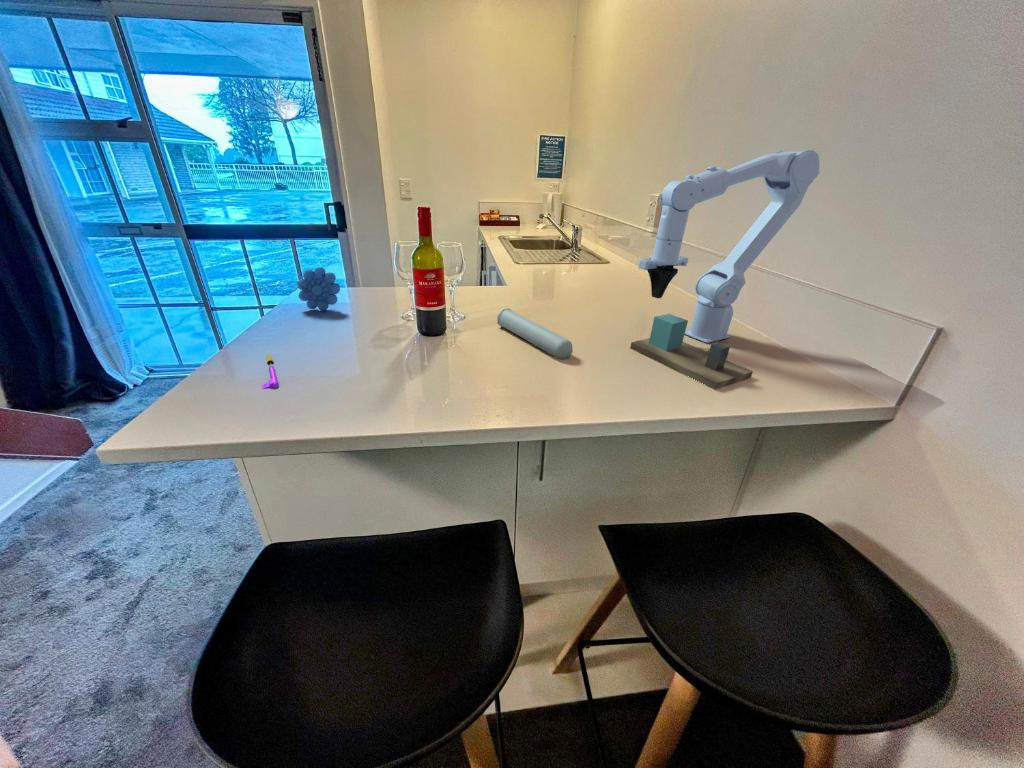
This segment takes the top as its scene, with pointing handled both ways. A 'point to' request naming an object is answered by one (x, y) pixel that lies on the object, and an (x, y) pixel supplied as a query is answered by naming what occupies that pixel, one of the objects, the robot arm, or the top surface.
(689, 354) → the brown wooden board
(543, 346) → the tube
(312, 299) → the grapes
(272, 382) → the purple bent rod
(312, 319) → the top surface
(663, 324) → the teal block
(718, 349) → the graphite post
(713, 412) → the top surface
